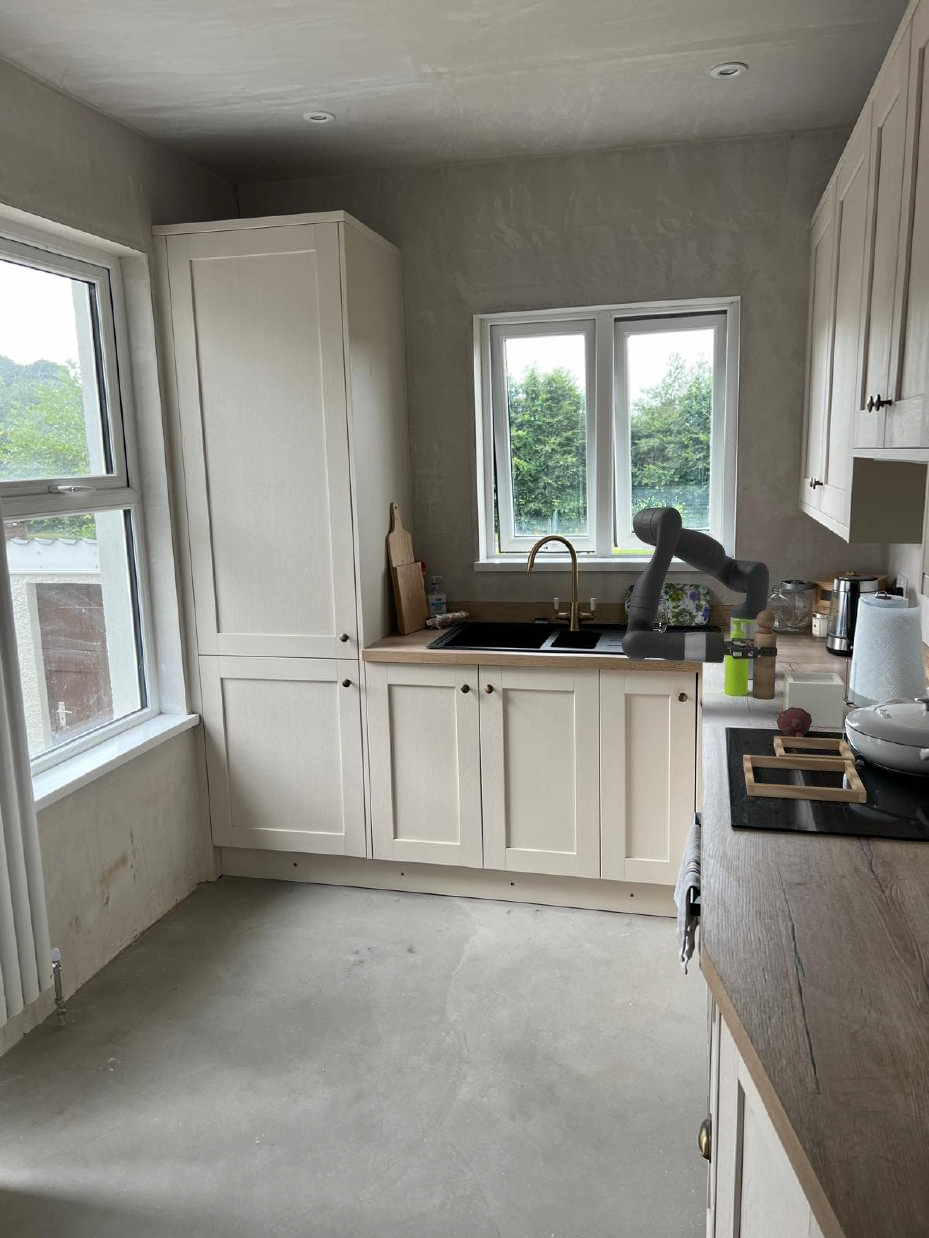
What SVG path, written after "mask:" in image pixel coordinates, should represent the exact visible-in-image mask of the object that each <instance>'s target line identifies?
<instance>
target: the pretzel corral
mask: <svg viewBox="0 0 929 1238" xmlns="http://www.w3.org/2000/svg"><path fill="white" fill-rule="evenodd" d="M742 761H743V762H742V764H743V771H744V772H743V773H744V779H745V786H746V792H747V796H755V797H767V798H768V797H771V798H785V799H797V800H798V799H799V800H818V801H832V802H833V801H834V802H846V803H847V802H849V803H859V804H860V803H861V804H862V803H863V804H865V803H867V791H866V788H865V787H864V784H863V783H862V780H861V779H860V777H859V774H858V772H857V771H856V769H855V768H854V766H853V764H852V762H851V761H849V760H831V759H812V758H794V757H777V756H773V755H771V756H770V755H754V754H743V760H742ZM757 767H758V768H771V769H789V770H790V769H791V770H807V771H827V772H839V773H840V772H842V773H843V772H844V774H845V776H846V778H847V781H848V782H849V784H850V786H851V789H850V788H841V787H840V788H838V787H822V786H806V785H791V784H790V785H788V784H775V783H773V784H772V783H759V782H755V780H754V772H753V768H757Z"/></svg>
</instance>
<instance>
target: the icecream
mask: <svg viewBox="0 0 929 1238" xmlns="http://www.w3.org/2000/svg"><path fill="white" fill-rule="evenodd" d="M811 723H812V719H811V715H810V714H809V713H808V712H806V711H805V710H804V709H802V708H794V707H791V708H789V709H788V710H785V711H783V710H782V711H781V713H780V714H779V716H778V718H777V719H776V724H777V728H778V729H779V730H780V731H781V732H782V733H783V734H784V735H785V736H786V737H805V735H807V733H808V732H809V731H810V728H811V726H810V725H811Z"/></svg>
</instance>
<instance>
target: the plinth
mask: <svg viewBox="0 0 929 1238" xmlns="http://www.w3.org/2000/svg"><path fill="white" fill-rule="evenodd" d="M783 676H784V677H783V696H782V697H783V700H782V712H783V711H785V710H788V709H789V708H791V707H794V708H802V709H804V710H805V711H806V712H808V713H809V714H810V715H811V719H812V723H811V725H810V727H819V728H821V727H822V728H838V729H839V728H843V719H844V718H843V717H844V695H845V693H844V692H845V683H844V682H843V680H842V678H841V677H840V675H839V674H838V673H837V672H817V671H816V672H815V671H813V672H812V671H789V670H788V671H784V672H783Z"/></svg>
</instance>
